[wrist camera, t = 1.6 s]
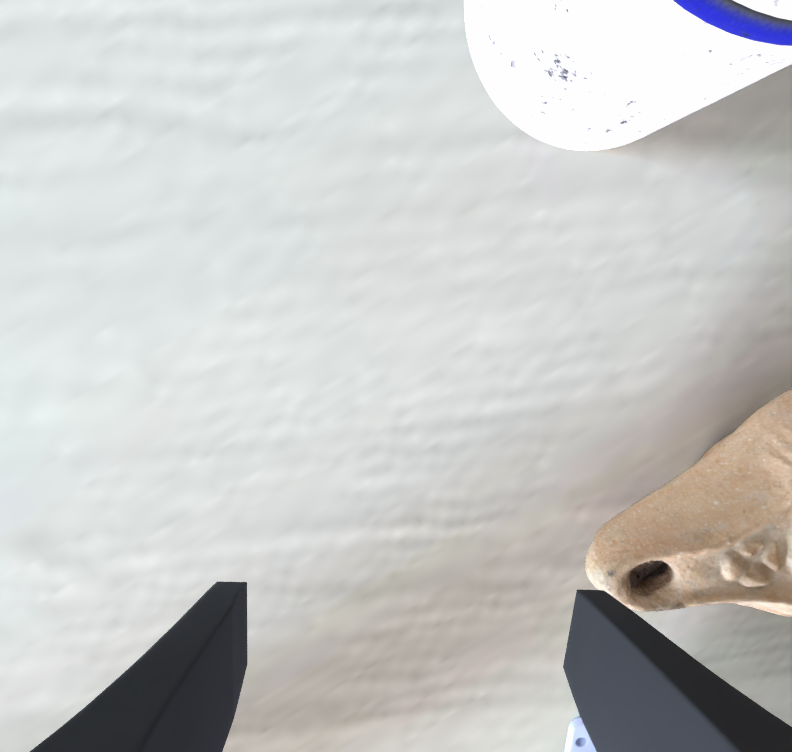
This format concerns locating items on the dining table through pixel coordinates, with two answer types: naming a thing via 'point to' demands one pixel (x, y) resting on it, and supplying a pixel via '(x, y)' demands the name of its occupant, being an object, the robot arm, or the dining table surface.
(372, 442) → the dining table surface
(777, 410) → the pottery oil lamp
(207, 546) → the dining table surface
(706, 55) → the teacup with lid
